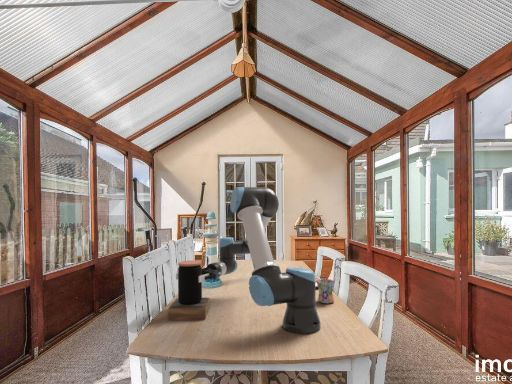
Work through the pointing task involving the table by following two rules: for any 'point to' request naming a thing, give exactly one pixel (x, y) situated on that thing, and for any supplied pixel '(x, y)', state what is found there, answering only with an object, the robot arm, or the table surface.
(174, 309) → the walnut stand
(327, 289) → the mug
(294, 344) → the table surface
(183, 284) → the coffee jar
